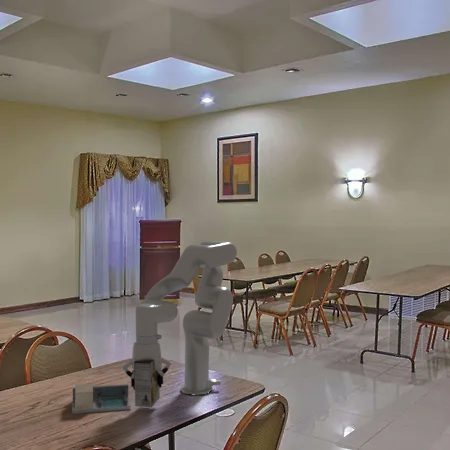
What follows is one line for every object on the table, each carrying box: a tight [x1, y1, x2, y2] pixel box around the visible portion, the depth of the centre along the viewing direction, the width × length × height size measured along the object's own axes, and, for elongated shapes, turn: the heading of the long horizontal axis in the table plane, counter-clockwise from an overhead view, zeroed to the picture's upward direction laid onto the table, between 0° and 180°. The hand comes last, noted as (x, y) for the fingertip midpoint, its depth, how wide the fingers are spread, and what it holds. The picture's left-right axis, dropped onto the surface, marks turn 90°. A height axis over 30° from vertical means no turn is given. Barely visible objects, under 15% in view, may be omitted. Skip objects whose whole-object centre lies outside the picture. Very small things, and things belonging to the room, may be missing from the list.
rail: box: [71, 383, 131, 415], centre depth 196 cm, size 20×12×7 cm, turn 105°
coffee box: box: [134, 360, 161, 408], centre depth 192 cm, size 9×6×16 cm
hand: (147, 387), depth 192 cm, fingers closed on coffee box, 8 cm apart
